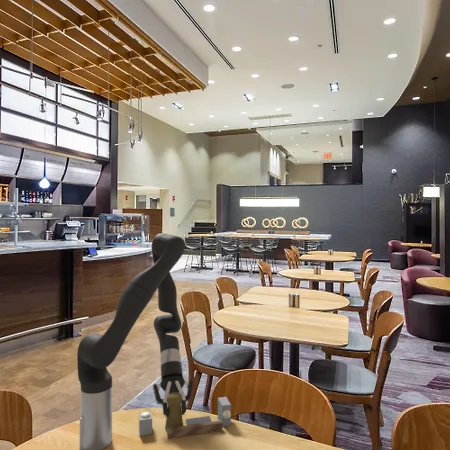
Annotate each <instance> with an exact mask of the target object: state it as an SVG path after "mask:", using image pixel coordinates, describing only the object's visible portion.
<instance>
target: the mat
mask: <svg viewBox="0 0 450 450" xmlns="http://www.w3.org/2000/svg"><path fill="white" fill-rule="evenodd" d="M207 422H213V420H212V419H211V417H210V415H206V416H199V417H198V416H197V417H192V418H186V419H185V424H186V425H193V424H200V423H207Z"/></svg>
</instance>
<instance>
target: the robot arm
mask: <svg viewBox="0 0 450 450" xmlns="http://www.w3.org/2000/svg"><path fill="white" fill-rule="evenodd" d="M151 241H152V242H151V254H152V260H153V265H151V266H150V267H148V268H147V269H145V270H143V271H142V272H140V273H138V274H137V275H135V276H134V277H133V278H132V279H130V281H129V282H128V284H127V285H126V286H125V288H124V289H123V291H122V292H121V294H120V295H119V298H118V301H117V306H116V311H115V316H114V318H113V321H112V322H111V323H110V325H109V326H108V328H107V329H106V331H105V332H103V334H99V333H95V332H93V333H89V334H87V335H85V336H84V337H83V338H82V339H81V340H80V342H79V344H78V346H77V354H76V355H77V356H76V357H77V363H76V364H77V377H78V382H79V384H80V417H79V450H104V449H105V448H108V447H109V446H110V445H111V444H112V443H113V376H112V374H111V373H110V372H109V371H108V367H109V366H110V365H111V364H113V362H114V361H115V359H116V358H117V356H118V354H119V353H120V350H121V349H122V347H123V345H124V343H125V342H126V339H127V337H128V335H129V334H130V332H131V331H132V329H133V327H134V325H136V322H137V320H138V319H139V317H141V316H140V315H141V314H142V313H143V311H144V310H145V309H146V307H147V305H148V304H149V302H150V301H151V300H152V297H153V296H154V294H155V292H156V291H157V294H158V295H157V301H158V304H157V305H158V309H159V311H160V312H162V313H166V314H164V315H163V314H162V315H157V316H156V317H155V319H153V327H154V331H155V334H156V336H157V339H158V342H159V343H158V344H159V353H160V356H159V357H160V358H159V359H160V361H159V362H160V363H159V366H160V380H161V381H160V383H158V384H156V383H154V384H153V385H152V391H153V393H154V394H153V395H154V398H155V401H156V404H158V405H161V406H162V414H163V416H165V418H167V417H168V403H167V396H168V394H170V393H172V392H178V393H180V394H181V395H182V403H181V411H182V416H183V415H185V413H186V412H187V402H188V401H190V400H191V396H192V387H193V380H192V379H191V380H189V381H188V380H185V379H184V375H183V373H184V372H183V365H182V356H181V351H180V341H179V338H178V337H177V336H176V335H173V334H175V333H176V334H177V333H178V332H180V330H181V329H182V320H181V317H180V314H179V311H178V303H177V302H178V300H177V299H178V295H177V291H178V290H177V287H176V284H175V281H174V279H173V276H172V274H171V272H170V271H171V270H172V269H173V268H174V267H175V265H177V263H178V262H179V261H180V259H181V258H182V256H183V255H184V254H183V253H184V252H185V248H186V241H185V240H184V239H183V238H182V237H180V236H178V235H173V234H168V233H163V232H162V233H157V234H156V235H154V237H153V239H152V240H151ZM171 334H172V335H171ZM184 386H185V388H186V395H185V394H184V390H183V388H184ZM160 389H162V390H163V391H164V395H163V396H164V397H163V398H162V397H161V395H160Z"/></svg>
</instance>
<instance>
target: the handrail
mask: <svg viewBox="0 0 450 450" xmlns="http://www.w3.org/2000/svg"><path fill="white" fill-rule="evenodd" d="M223 427H224V426H223V423H222V421H219V420H215V421H212V422H207V423H200V424H193V425H187V424H186V425H183V426H179V427H171V428H167V430H166V439H173V438H175V439H176V438H180V437H186V436H187V437H189V436H194V435H201V434H206V433H214V432H221V431H223Z"/></svg>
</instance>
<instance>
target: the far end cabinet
mask: <svg viewBox="0 0 450 450" xmlns="http://www.w3.org/2000/svg"><path fill="white" fill-rule="evenodd" d="M231 411H232V404H231V402H230V401H229V399H228V397H227V396H221V397H217V418H218V421H222V423H223V427H228V426H229V427H230V426H232V417H231V416H232V412H231Z"/></svg>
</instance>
